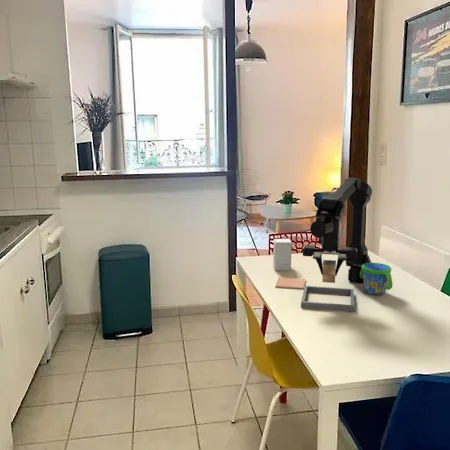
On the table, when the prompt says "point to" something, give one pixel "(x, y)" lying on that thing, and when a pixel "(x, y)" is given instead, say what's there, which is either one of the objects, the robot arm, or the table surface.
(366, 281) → the snack cup
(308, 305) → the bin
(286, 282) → the tile
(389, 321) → the table surface
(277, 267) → the supplement box
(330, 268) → the oak block
